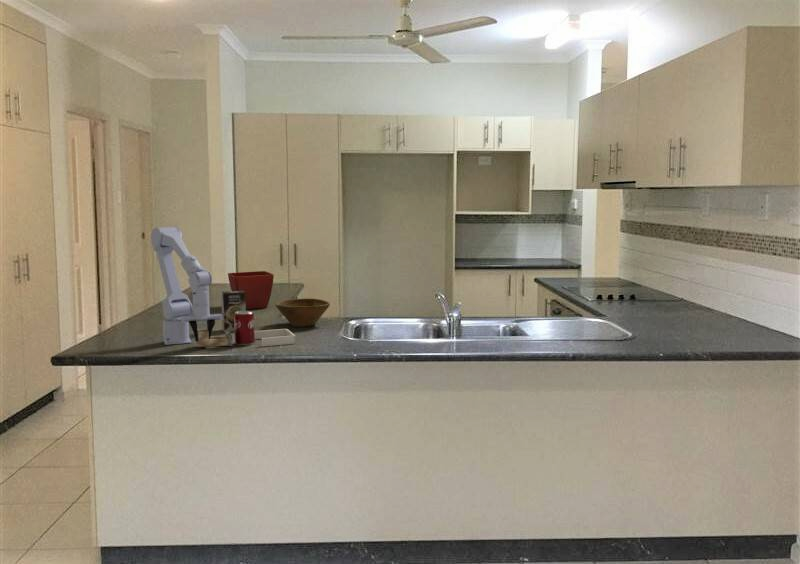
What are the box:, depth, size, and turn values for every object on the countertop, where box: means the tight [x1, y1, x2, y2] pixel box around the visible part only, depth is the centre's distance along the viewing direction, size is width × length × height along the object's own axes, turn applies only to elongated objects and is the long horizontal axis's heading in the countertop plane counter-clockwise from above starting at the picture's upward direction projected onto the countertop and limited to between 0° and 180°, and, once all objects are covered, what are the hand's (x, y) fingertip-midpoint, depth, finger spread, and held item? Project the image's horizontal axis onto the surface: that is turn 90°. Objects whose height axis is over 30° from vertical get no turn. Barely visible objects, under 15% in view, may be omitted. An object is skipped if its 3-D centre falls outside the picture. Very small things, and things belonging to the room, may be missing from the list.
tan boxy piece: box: [196, 328, 233, 348], centre depth 252 cm, size 12×9×6 cm
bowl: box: [274, 297, 331, 328], centre depth 292 cm, size 22×23×10 cm
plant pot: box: [227, 270, 275, 310], centre depth 339 cm, size 19×19×17 cm
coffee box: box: [220, 290, 247, 333], centre depth 282 cm, size 9×6×16 cm
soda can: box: [234, 310, 256, 346], centre depth 256 cm, size 7×7×12 cm
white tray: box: [254, 328, 297, 347], centre depth 261 cm, size 13×15×3 cm
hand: (202, 340), depth 251 cm, fingers closed on tan boxy piece, 4 cm apart
